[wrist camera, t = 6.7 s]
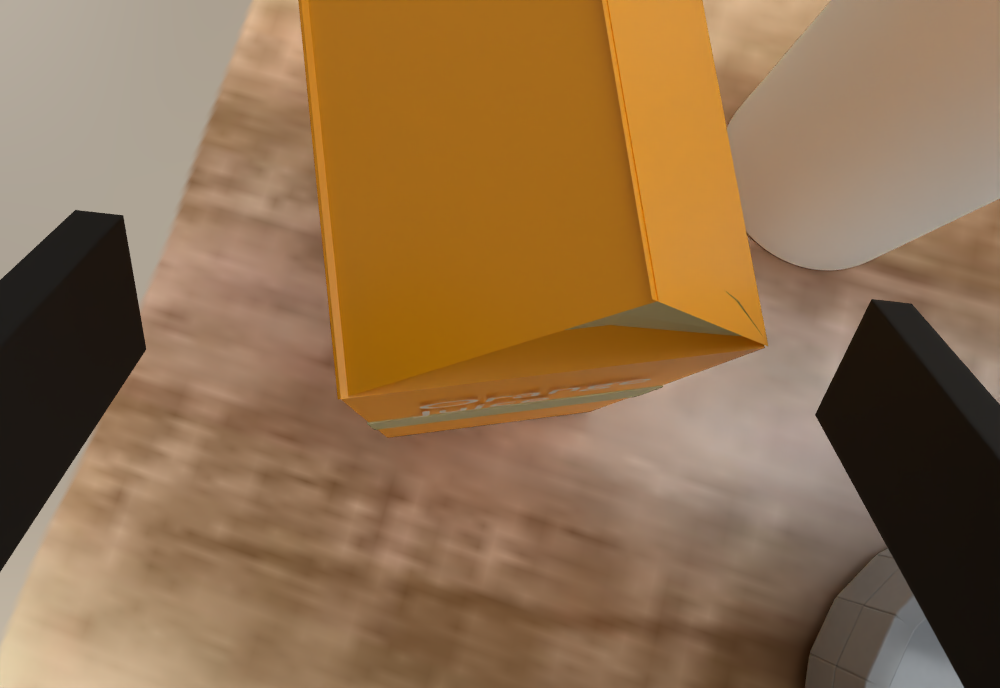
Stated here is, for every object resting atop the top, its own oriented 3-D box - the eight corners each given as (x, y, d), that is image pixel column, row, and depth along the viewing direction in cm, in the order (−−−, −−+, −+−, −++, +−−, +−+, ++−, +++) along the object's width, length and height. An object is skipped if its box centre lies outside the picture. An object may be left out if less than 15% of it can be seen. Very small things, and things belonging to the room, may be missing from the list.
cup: (694, 98, 30) (984, -308, 14) (876, 62, 31) (1329, -353, 16) (754, 291, 29) (1141, 76, 13) (941, 246, 30) (1502, -2, 14)
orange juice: (383, 440, 27) (260, 354, 7) (358, 205, 28) (196, -416, 8) (596, 412, 28) (1013, 268, 8) (561, 187, 29) (844, -414, 9)
